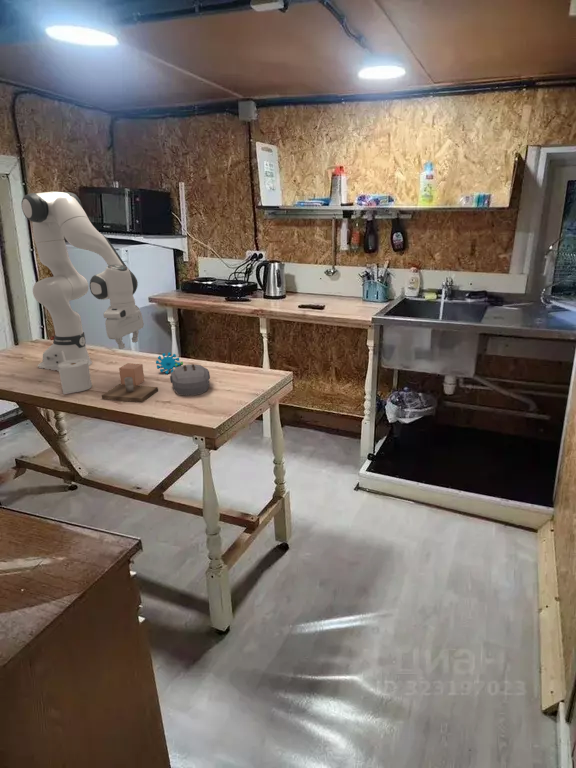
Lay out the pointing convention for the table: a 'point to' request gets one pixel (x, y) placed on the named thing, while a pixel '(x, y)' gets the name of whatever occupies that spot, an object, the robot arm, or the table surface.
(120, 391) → the stub plate
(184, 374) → the small grey backpack
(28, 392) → the table surface
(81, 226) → the robot arm
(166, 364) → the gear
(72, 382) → the toilet tissue
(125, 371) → the salmon orange block
